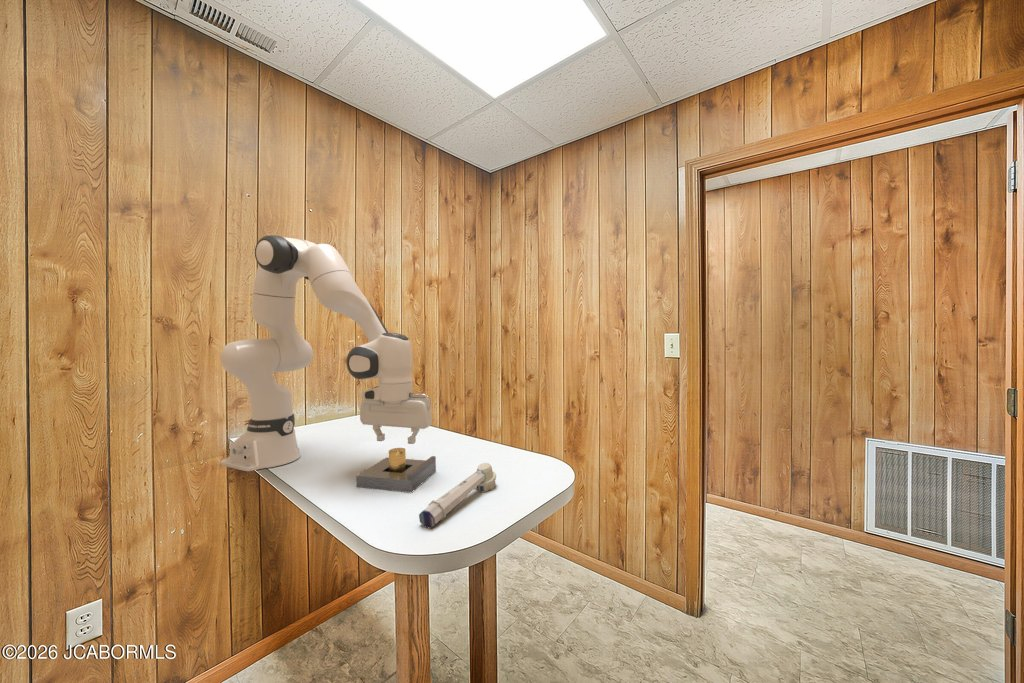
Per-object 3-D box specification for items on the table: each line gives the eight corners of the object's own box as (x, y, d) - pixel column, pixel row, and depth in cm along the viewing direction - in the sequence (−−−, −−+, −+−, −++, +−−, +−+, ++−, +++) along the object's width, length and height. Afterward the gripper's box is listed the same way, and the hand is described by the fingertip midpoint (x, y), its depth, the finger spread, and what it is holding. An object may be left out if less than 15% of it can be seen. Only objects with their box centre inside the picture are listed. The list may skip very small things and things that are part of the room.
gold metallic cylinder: (386, 481, 100) (385, 452, 99) (395, 475, 104) (394, 447, 104) (400, 482, 99) (400, 453, 98) (409, 476, 103) (408, 448, 103)
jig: (356, 486, 96) (355, 470, 96) (386, 467, 110) (386, 452, 110) (411, 492, 93) (411, 475, 93) (435, 471, 106) (435, 456, 106)
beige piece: (415, 507, 77) (482, 455, 98) (419, 536, 78) (484, 478, 99) (434, 513, 74) (498, 458, 96) (438, 543, 75) (500, 482, 97)
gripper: (435, 391, 101) (435, 441, 102) (370, 388, 106) (370, 436, 107) (425, 396, 95) (425, 448, 96) (356, 392, 100) (356, 442, 101)
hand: (396, 442), depth 101 cm, fingers open, 8 cm apart
